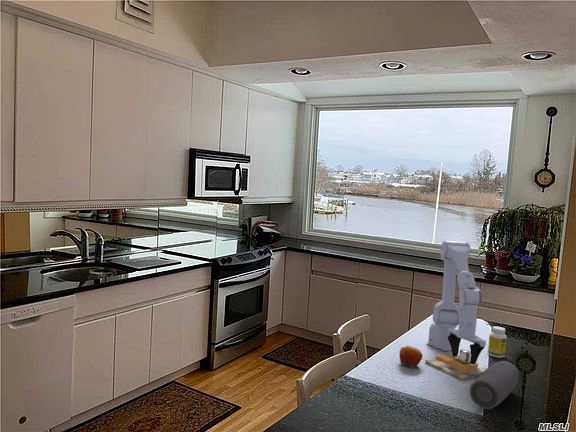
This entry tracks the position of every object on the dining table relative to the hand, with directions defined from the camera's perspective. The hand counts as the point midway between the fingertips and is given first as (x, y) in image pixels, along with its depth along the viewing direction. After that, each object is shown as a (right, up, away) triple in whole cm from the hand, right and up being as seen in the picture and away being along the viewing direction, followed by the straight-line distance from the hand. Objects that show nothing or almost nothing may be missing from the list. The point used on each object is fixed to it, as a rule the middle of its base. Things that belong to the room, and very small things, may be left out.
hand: (463, 359), depth 169 cm
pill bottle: (+20, -4, +19) cm, 28 cm away
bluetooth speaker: (+1, -6, -21) cm, 22 cm away
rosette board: (-1, -4, +3) cm, 5 cm away
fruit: (-18, -3, +3) cm, 19 cm away
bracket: (-2, -3, +3) cm, 5 cm away
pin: (0, -3, 0) cm, 3 cm away
